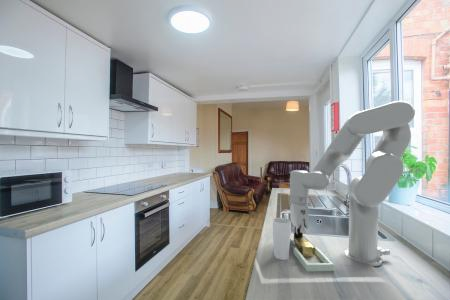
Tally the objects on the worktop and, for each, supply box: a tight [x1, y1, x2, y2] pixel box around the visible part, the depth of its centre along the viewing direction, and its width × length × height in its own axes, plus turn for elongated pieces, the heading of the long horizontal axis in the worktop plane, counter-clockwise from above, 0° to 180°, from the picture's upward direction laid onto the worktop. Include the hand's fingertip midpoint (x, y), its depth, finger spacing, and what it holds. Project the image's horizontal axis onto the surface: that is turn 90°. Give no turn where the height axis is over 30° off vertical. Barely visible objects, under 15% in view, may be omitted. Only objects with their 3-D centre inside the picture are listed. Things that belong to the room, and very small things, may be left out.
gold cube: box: [295, 238, 308, 250], centre depth 92 cm, size 4×4×4 cm
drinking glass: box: [272, 217, 292, 261], centre depth 86 cm, size 7×7×15 cm
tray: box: [293, 246, 335, 272], centre depth 83 cm, size 9×13×3 cm
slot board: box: [289, 235, 316, 254], centre depth 95 cm, size 8×12×3 cm
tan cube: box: [299, 241, 314, 258], centre depth 88 cm, size 4×4×4 cm
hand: (298, 242), depth 96 cm, fingers closed
